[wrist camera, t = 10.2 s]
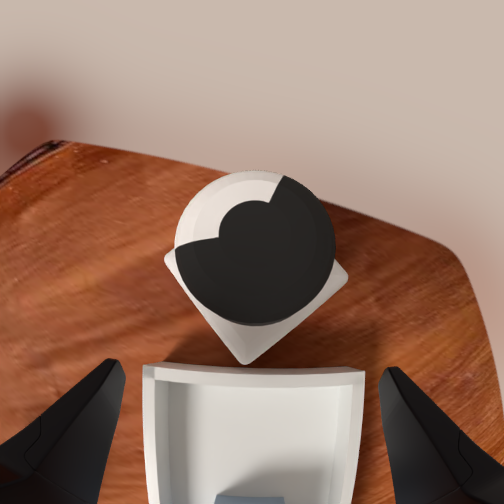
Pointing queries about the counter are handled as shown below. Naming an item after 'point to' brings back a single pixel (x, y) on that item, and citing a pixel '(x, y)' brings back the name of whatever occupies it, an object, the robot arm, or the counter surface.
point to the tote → (251, 432)
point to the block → (248, 500)
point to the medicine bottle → (255, 258)
